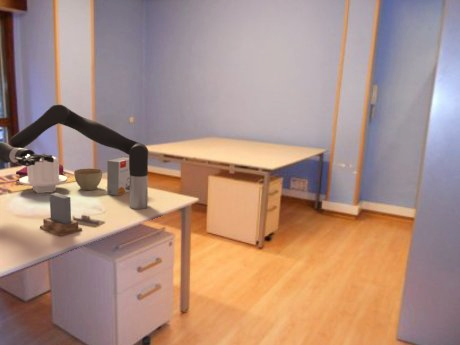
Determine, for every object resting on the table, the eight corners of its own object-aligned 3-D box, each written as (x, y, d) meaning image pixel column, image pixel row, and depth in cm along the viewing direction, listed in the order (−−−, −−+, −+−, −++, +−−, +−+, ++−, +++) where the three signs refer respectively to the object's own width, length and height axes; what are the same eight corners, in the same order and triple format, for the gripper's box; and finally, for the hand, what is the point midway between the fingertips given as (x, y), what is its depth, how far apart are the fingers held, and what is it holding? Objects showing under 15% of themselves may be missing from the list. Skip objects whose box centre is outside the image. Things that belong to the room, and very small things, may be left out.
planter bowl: (85, 184, 244) (85, 167, 242) (108, 187, 240) (107, 170, 238) (68, 189, 229) (67, 171, 227) (92, 193, 225) (91, 175, 222)
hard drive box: (118, 196, 221) (117, 162, 217) (106, 194, 224) (106, 160, 220) (133, 190, 236) (133, 158, 232) (122, 188, 238) (122, 156, 234)
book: (63, 174, 268) (63, 163, 267) (51, 184, 241) (51, 172, 240) (31, 173, 265) (30, 162, 263) (15, 183, 238) (14, 171, 236)
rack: (39, 228, 167) (39, 219, 166) (60, 222, 175) (60, 214, 174) (61, 236, 159) (60, 227, 158) (82, 230, 167) (81, 221, 166)
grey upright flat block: (50, 225, 168) (49, 194, 165) (57, 223, 171) (56, 192, 168) (64, 230, 163) (63, 198, 160) (71, 228, 165) (70, 197, 163)
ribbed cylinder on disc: (59, 183, 243) (58, 153, 239) (73, 192, 224) (73, 160, 221) (14, 188, 226) (12, 156, 222) (26, 198, 208) (24, 163, 204)
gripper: (5, 150, 169) (27, 154, 160) (37, 146, 180) (58, 150, 172) (7, 167, 170) (28, 172, 162) (38, 162, 182) (59, 167, 173)
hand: (43, 161), depth 167 cm, fingers open, 8 cm apart
